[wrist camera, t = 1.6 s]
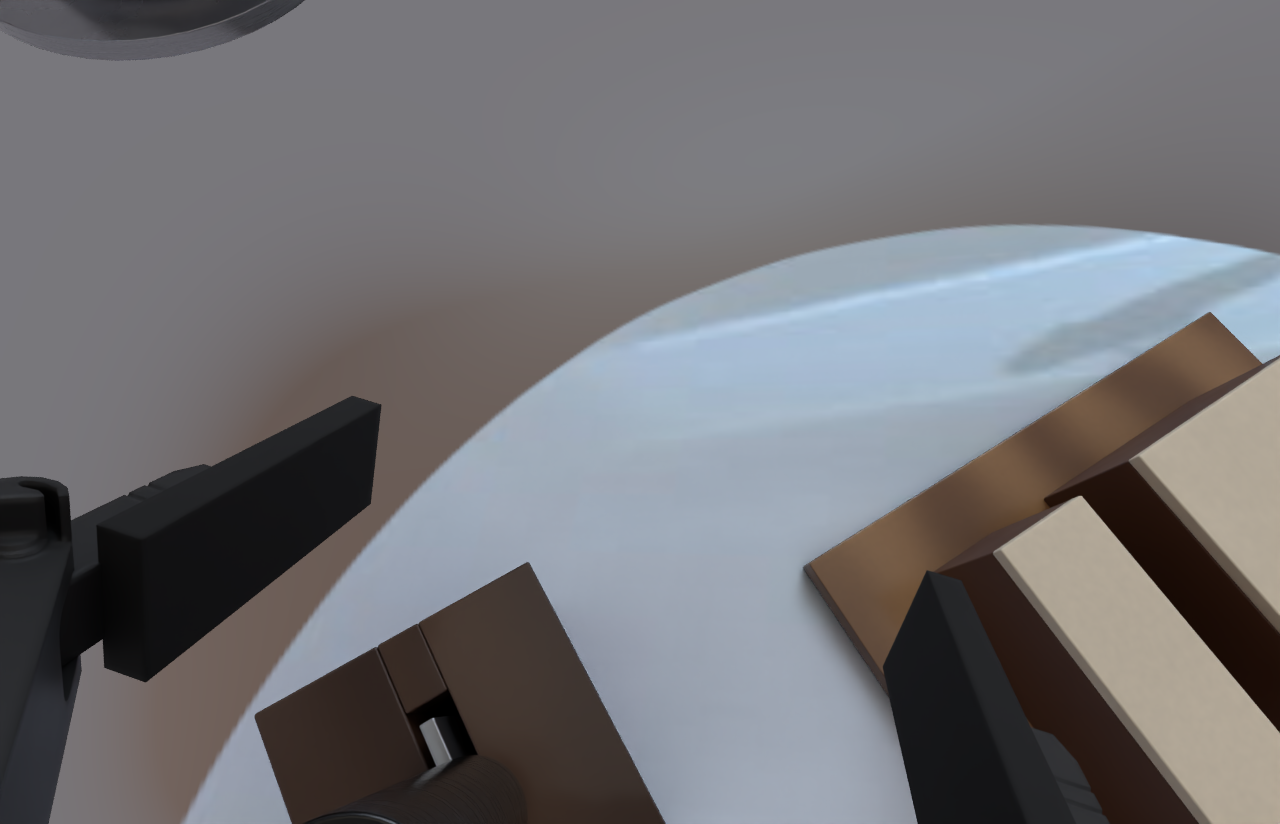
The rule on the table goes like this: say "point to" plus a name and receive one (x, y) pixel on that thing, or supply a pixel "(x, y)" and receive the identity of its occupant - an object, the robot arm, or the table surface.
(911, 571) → the cake board
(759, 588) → the table surface
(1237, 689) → the cake slice
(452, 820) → the knife
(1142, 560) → the cake
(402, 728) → the knife block
